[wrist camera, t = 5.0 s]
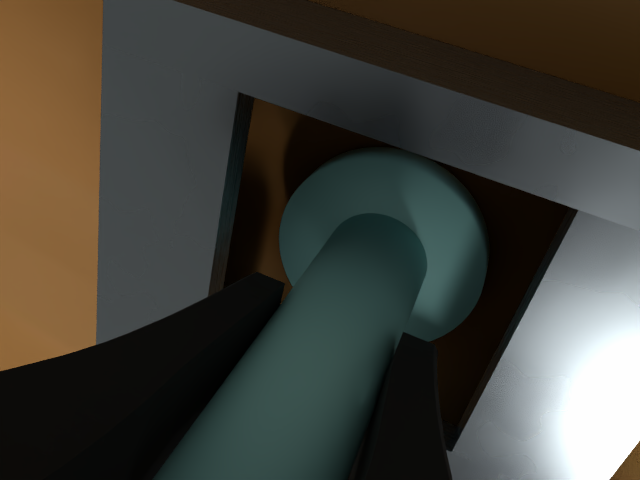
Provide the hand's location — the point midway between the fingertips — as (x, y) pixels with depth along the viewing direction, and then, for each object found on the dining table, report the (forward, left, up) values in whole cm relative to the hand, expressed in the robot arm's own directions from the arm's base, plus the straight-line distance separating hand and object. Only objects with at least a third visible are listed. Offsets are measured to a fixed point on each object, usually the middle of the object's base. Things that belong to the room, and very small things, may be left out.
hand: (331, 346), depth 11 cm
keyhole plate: (-3, 0, -4) cm, 5 cm away
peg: (0, 0, -4) cm, 4 cm away
